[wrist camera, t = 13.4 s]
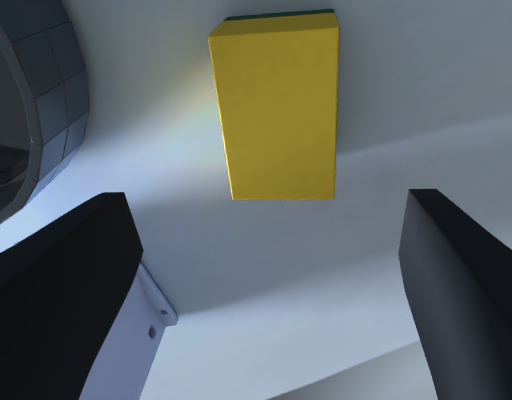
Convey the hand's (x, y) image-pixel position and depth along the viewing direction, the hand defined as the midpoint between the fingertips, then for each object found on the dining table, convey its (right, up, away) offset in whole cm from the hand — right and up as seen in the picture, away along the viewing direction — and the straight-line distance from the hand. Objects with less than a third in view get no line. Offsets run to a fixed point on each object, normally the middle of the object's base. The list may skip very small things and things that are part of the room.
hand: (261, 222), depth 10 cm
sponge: (+1, +5, +8) cm, 9 cm away
